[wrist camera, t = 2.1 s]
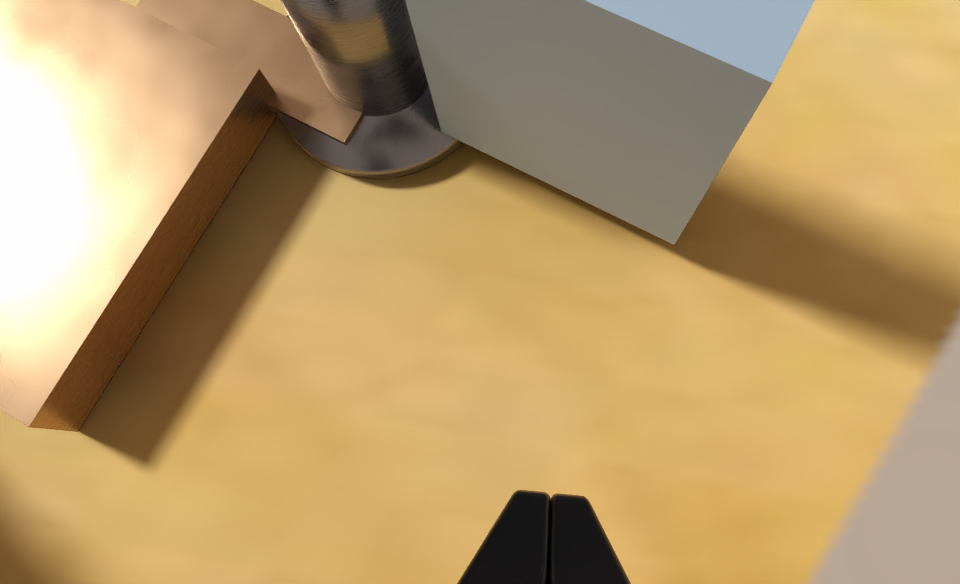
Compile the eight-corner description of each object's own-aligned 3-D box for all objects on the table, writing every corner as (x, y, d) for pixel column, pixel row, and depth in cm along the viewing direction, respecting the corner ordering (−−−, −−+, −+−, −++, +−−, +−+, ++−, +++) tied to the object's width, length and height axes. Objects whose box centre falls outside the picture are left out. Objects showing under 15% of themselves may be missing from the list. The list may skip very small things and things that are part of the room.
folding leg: (345, 84, 21) (226, -157, 13) (383, 23, 21) (291, -250, 13) (674, 244, 19) (772, 82, 11) (710, 175, 20) (830, -30, 12)
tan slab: (241, 531, 19) (79, 563, 12) (-212, 254, 22) (-554, 153, 15) (532, 30, 22) (530, -174, 15) (95, -168, 24) (-79, -420, 17)
